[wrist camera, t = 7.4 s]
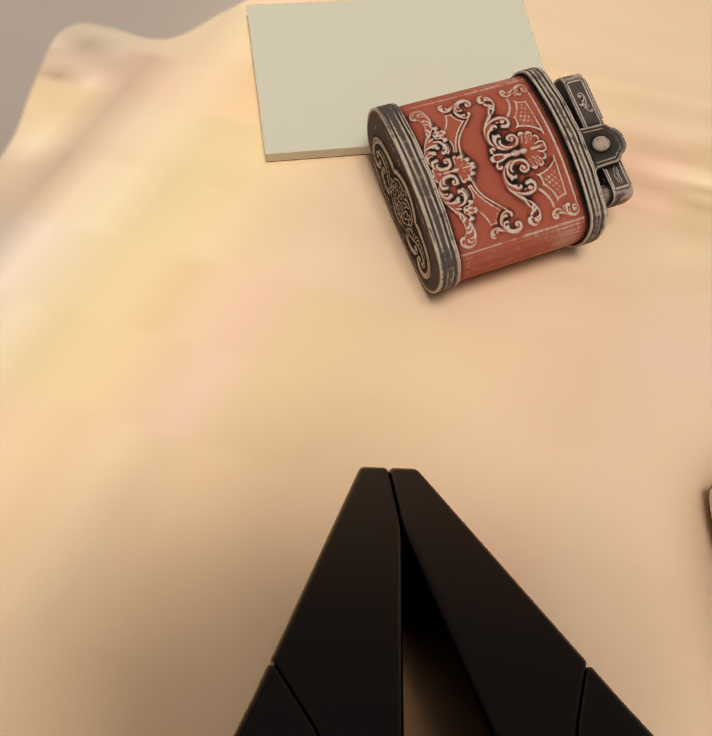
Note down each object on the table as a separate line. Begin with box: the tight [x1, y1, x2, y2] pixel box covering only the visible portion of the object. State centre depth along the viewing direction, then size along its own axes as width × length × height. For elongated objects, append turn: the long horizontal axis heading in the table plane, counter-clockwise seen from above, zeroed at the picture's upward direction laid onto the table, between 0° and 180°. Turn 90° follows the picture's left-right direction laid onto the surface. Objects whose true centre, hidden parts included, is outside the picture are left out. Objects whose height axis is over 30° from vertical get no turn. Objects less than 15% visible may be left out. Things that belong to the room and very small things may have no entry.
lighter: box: [367, 67, 633, 294], centre depth 22 cm, size 8×3×10 cm
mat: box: [246, 0, 545, 162], centre depth 24 cm, size 14×8×1 cm, turn 99°
